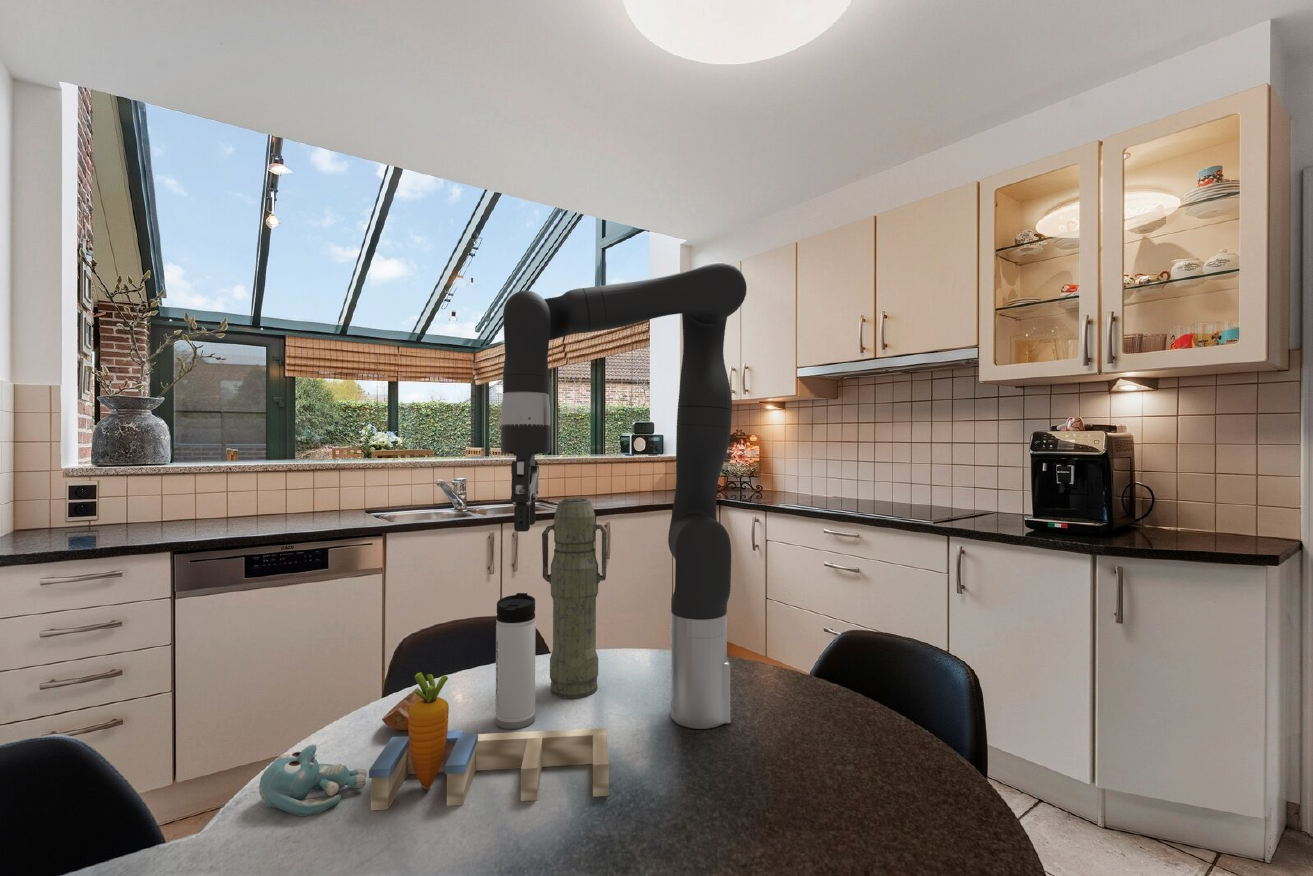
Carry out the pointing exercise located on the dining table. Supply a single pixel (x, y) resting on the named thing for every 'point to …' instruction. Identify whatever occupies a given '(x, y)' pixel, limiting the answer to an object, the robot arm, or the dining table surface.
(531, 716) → the travel mug
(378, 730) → the dining table surface
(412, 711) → the carrot
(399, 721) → the fruit slice
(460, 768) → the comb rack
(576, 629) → the thermos
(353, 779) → the stuffed animal
